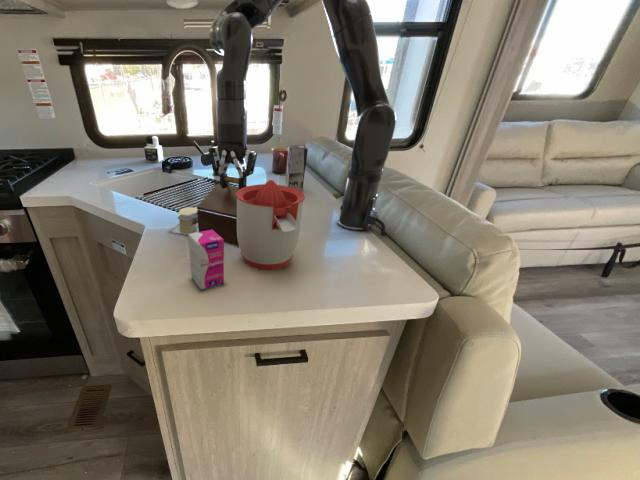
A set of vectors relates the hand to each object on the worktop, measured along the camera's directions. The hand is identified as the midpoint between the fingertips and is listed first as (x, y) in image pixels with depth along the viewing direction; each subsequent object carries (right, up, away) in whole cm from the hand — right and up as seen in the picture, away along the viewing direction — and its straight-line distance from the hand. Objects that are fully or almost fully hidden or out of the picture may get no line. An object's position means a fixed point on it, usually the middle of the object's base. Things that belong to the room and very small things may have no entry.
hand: (233, 188), depth 90 cm
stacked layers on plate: (-13, -9, +9) cm, 18 cm away
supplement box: (-5, -27, -16) cm, 32 cm away
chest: (-1, -11, +6) cm, 13 cm away
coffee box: (+24, +15, +43) cm, 52 cm away
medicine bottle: (-44, +43, +83) cm, 103 cm away
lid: (-1, -3, 0) cm, 4 cm away
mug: (+21, +30, +65) cm, 74 cm away
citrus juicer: (+9, -22, -8) cm, 25 cm away
